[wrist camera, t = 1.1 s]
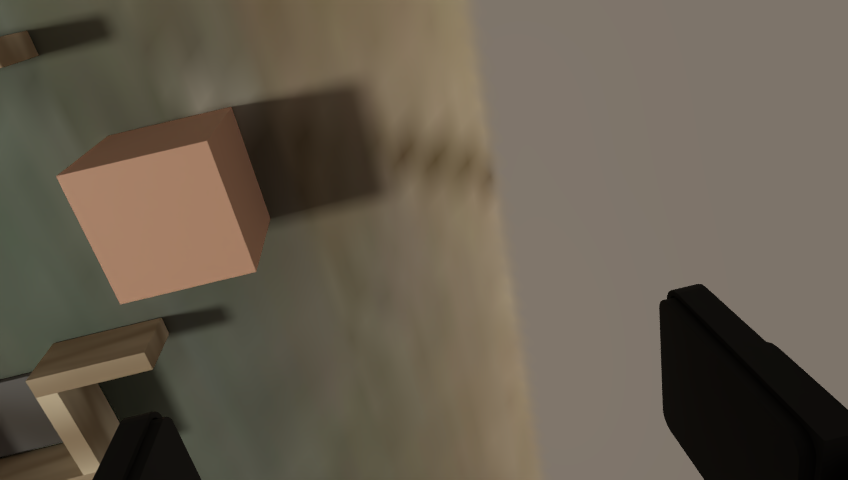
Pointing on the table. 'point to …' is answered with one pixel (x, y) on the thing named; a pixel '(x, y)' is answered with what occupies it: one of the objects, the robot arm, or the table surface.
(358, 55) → the table surface
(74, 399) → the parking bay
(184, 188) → the block
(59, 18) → the table surface
